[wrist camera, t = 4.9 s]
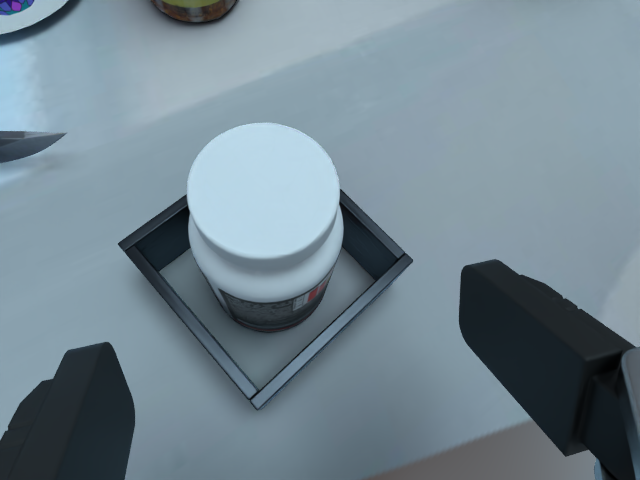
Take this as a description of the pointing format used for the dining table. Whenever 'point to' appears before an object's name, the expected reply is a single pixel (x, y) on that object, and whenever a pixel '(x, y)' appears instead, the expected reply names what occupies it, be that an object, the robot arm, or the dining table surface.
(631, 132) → the dining table surface
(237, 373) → the holder
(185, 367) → the dining table surface
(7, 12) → the pudding
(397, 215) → the dining table surface
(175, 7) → the sauce bottle
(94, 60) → the dining table surface
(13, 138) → the knife
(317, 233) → the pill bottle
